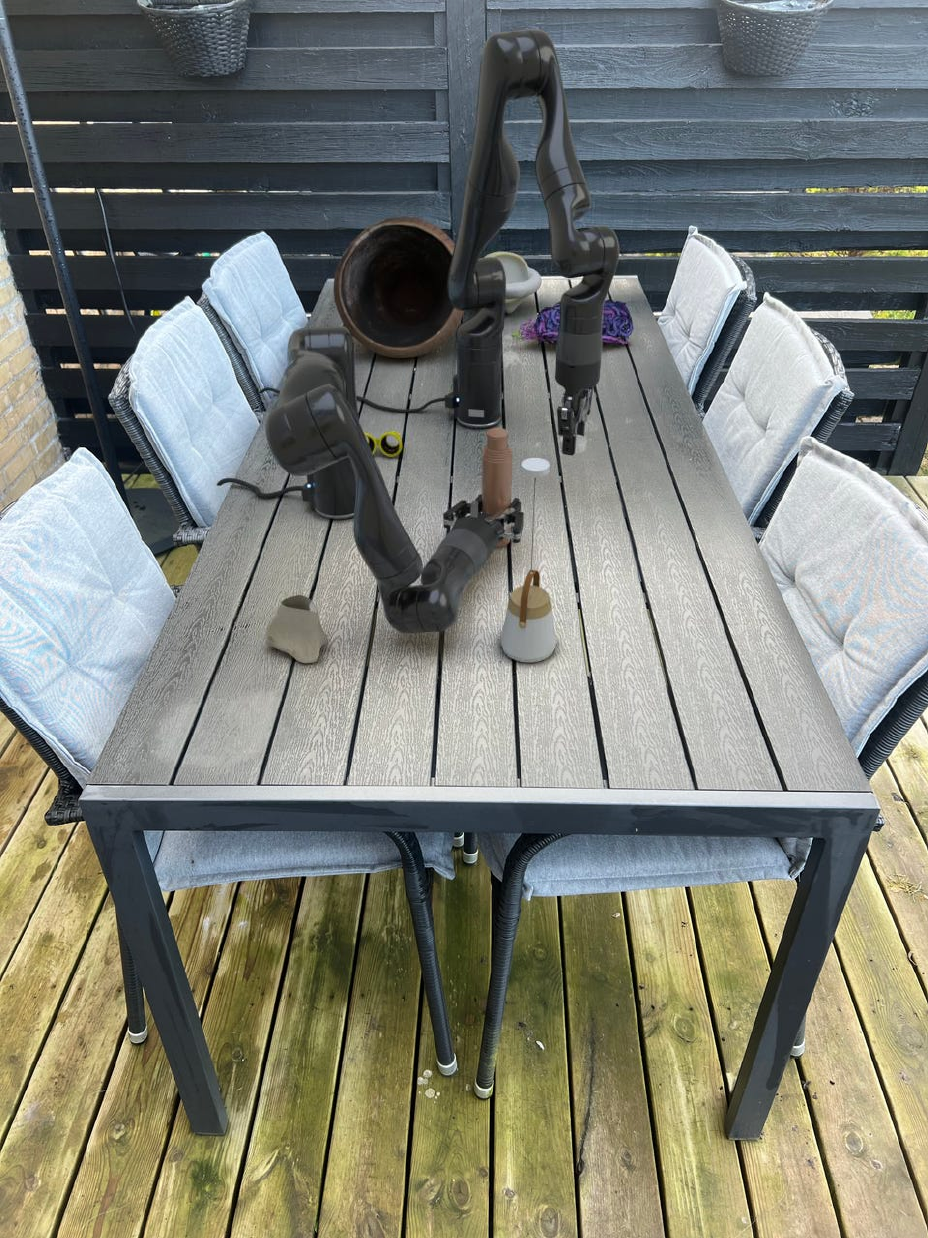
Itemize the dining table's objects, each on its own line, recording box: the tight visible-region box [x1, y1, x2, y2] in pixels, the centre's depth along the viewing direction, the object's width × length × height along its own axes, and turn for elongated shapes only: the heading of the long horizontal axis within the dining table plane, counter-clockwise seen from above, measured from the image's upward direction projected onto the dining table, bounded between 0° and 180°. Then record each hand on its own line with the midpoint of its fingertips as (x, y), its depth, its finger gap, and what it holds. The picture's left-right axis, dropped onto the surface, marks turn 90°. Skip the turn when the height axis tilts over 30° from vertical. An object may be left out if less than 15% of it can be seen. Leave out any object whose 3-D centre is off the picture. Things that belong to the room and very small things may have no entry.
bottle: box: [481, 427, 513, 548], centre depth 155 cm, size 5×5×20 cm
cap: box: [559, 435, 587, 454], centre depth 164 cm, size 5×5×2 cm
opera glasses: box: [364, 430, 403, 458], centre depth 185 cm, size 10×5×5 cm, turn 95°
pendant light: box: [499, 457, 557, 663], centre depth 128 cm, size 8×8×30 cm
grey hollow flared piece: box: [265, 594, 328, 664], centre depth 135 cm, size 9×8×10 cm
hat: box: [483, 251, 543, 314], centre depth 248 cm, size 25×22×15 cm
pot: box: [333, 215, 465, 359], centre depth 229 cm, size 32×32×30 cm
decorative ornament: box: [510, 299, 634, 347], centre depth 229 cm, size 13×11×30 cm
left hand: (501, 499), depth 159 cm, fingers closed on bottle, 5 cm apart
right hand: (572, 447), depth 164 cm, fingers closed on cap, 4 cm apart
